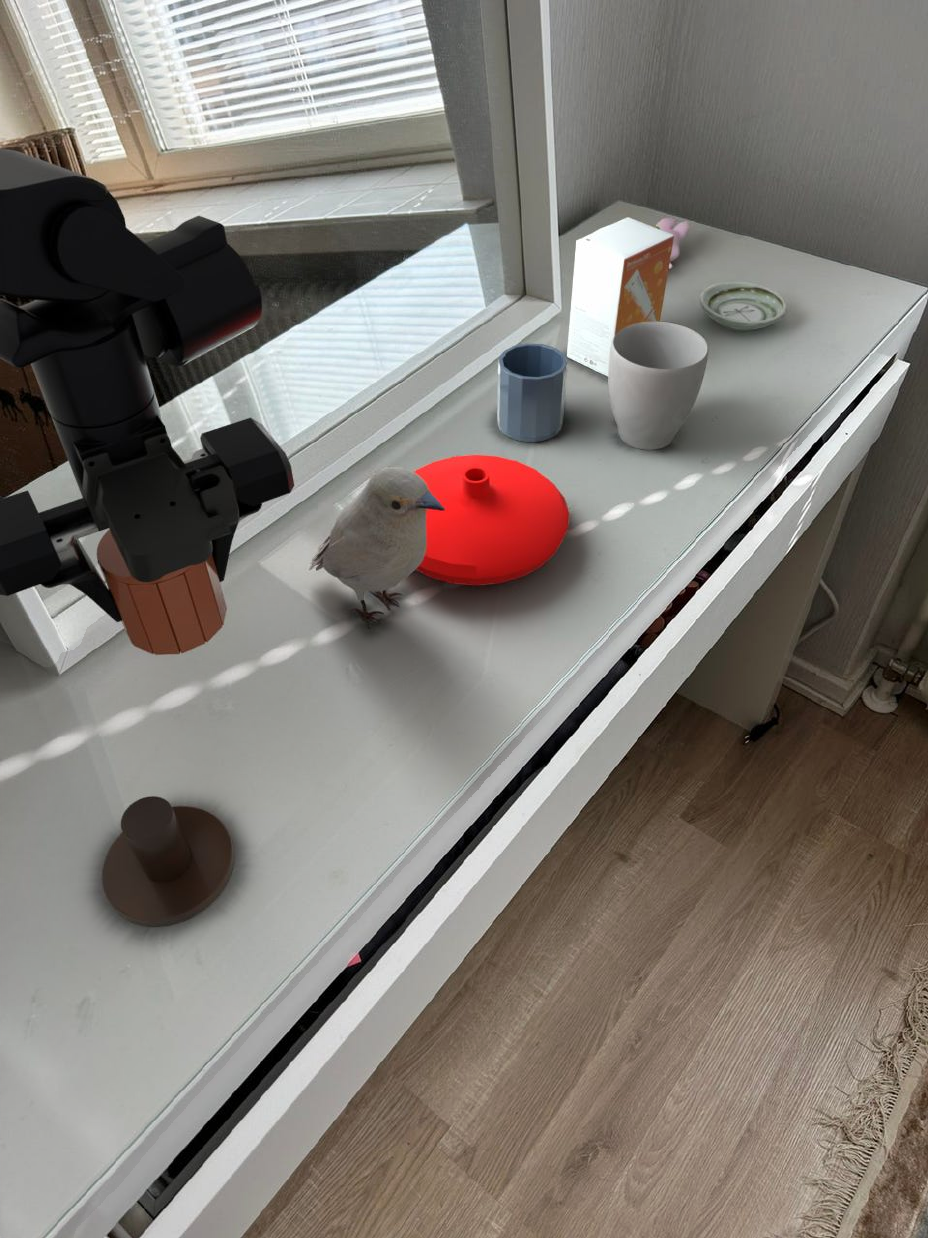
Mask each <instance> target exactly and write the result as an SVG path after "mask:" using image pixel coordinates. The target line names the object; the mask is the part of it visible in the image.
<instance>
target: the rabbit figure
mask: <svg viewBox="0 0 928 1238" xmlns="http://www.w3.org/2000/svg"><path fill="white" fill-rule="evenodd" d="M677 222H678V220H677V219H675V218H673V217H665V218H662V219H660V220H659V221H658V222H657V223H656V225H654V227H655V228H657V229H660V230H662V231H665V232H667V233H670V234H672V235H674V239H673V246H672V252H671V258H670V264H669V270H671V269H672V268H673V264H672V263H671V262H673V261H675V260H676V259H677V258H679V256H680V254H681V253H680V242H681V241H682V240H683V239H685V237H687V235H688V233H689V230H690V228H691V223H690V221H681V222H679V223H678V224H676V223H677Z"/></svg>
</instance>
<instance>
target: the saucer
mask: <svg viewBox="0 0 928 1238" xmlns="http://www.w3.org/2000/svg"><path fill="white" fill-rule="evenodd" d="M699 296H700V297H699V304H700V307H701V309H702V310H703V311H704V312H705V313H706V314H707V315H708V316H709V317H710V318H711V319H712V320H713V321H715V322H716V323H718V324H719V325H721V326H723V327H725V328H727V329H729V330H734V331H739V332H748V331H753V330H757V329H762V328H765V327H768V326H770V325H772V324H775V323H776V322H779V321H780V320H781V319H782V318H784V316H785V315H786V314H787V310H788V304H787V301H786V300H785V298H784V297H783V296H782V295H781V294H780V293H778V292H777V291H775V290H774V289H772V288H769V287H766V286H764V285H760V284H756V283H753V282H746V281H725V282H719V283H715V284H712V285H710V286H708V287H706V288H705V289H704V290H703V291H702V292H701V294H700V295H699Z"/></svg>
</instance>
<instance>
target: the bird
mask: <svg viewBox="0 0 928 1238" xmlns="http://www.w3.org/2000/svg"><path fill="white" fill-rule="evenodd" d="M427 509H433V510H440V511H442V510H443V511H444V510H445V509H444V507H443V506H442V505H441V504H440V502H439V501H438V500H437V499H436V498H435V497H434V496H433V494H432V493H431V492H430V490H429V489H428V486H427V484H426V482H425V481H424V480H423V479H422V478H421V477H420V476H418V475H417V474H416V473H415V472H414V471H413V470H411V469H408V468H405V467H395V466H388V467H384V468H381V469H377V470H376V471H375V472H374V473H373V474H372V475H371V477H370V478H369V480H368V482H367V483H366V485H365V486H364V487H363V488H362V490H361V491H360V492H359V493H358V495H357V496H356V497H354V499H352V500H351V501H350V502H349V503H348V504H346V505H345V506H344V508H343V509H342V510H341V511H340V512H339V514H338V515H337V517H336V519H335V522H334V523H333V526H332V527H331V529H330V533H329V536H327V538H325V540H324V542H323V543H322V544H320V546H318V547H317V552H316V553H315V555H314V556H313V557H312V559H310V561H311V562H310V563H309V564H310V566H309V568H308V570H309V571H311V570H312V569H313V568H314V567H315V571H316V572H317V571H320V570H321V569H324V570H325V571H326V572H327V573H328V574H329V575H331V576H333V577H334V578H337V579H338V580H339V581H340V582H341V583H342V584H343V585H344V586H347V587H349V588H350V589H352V590H353V591H354V593H355V595H356V598H357V600H358V601H359V602H360V604H361V606H362V610H361V609H359V608H357V607H356V608H355V607H353V608H350V610H352V611H355V612H356V613H357V614H359V617H360V619H361V620H363V621H364V622H365V624H366V626H367V628H368V630H371V624H370V620H371V621H375V622H376V623H378V624H379V625H380V624H381V623H380V621H379V620H378V619H377V618H376V617H375V616H374V615H378V614H381V615H384V614H385V613H384V612H382V611H378V610H372V611H367V605H366V601H365V599H364V597H365V593H366V592H371V593H375V594H377V595H378V596H379V599H380V600H381V601H382V602H384V604H385V605H386V607H387V609H388V610H389V611H390V610H391V609H390V607H391V606H390V602H389V601H391V602H394V603H396V604H397V605H399V606H400V603H399V601H398V600H397V599H396V598H394V597H395V596H403V594H402V593H400V592H395V591H394V592H389V593H388V592H387V590H390V589H392V588H394V587H396V586H398V584H400V583H401V582H402V581H404V580H405V579H406V578H408V577H409V576H410V575H411V574H412V573H413V572H414V571H416V570H415V569H416V568H417V567H418V566H419V565H420V564H421V562H422V561H423V558H424V556H425V553H426V547H427V534H426V512H427Z"/></svg>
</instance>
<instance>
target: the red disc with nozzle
mask: <svg viewBox="0 0 928 1238" xmlns="http://www.w3.org/2000/svg"><path fill="white" fill-rule="evenodd" d="M413 472H415V473H416V474H417V475H418V476H420V477H421V478H422V479H423V480H424V481H425V482H426V484H427V486H428V489H429V490H430V492H431V493H432V494H433V496H434V497H435V498H436V499H437V500H438V501H439V502H440V504H441V505H442V506H443V507H444V509H445V510H444V511H443V510H442V511H440V510H433V509H427V512H426V534H427V547H426V553H425V556H424V558H423V561H422V562H421V564H420V565H419V566H418V567H417V568H416V569H415V570H414V571H417V572H418V573H421V574H423V575H424V576H427V577H428V578H431V579H434V580H438V581H442V582H446V583H450V584H453V585H454V584H455V585H466V586H485V585H495V584H502V583H505V582H510V581H512V580H515V579H519V578H522V577H525V576H527V575H529V574H530V573H532V572H534V571H536V570H539V568H541V567H542V566H544V565H545V564H546V563H547V562H548V561H549V560H550V559H551V558H552V557H553V556H554V555H555V554H556V553H557V551H558V549H559V548H560V546H561V543H562V542H563V540H564V538H565V536H566V534H567V532H568V530H569V523H570V511H569V508H568V504H567V502H566V497H564V495H563V494H562V493H561V492H560V490H559V489H558V488H557V486H556V485H555V484H554V483H553V482H552V481H551V480H550V479H548V477H546V476H545V475H543V474H542V473H541V472H539V471H538V470H536V468H533V467H531V466H529V465H526V464H524V463H522V462H520V461H517V460H513V459H510V458H505V457H503V456H501V457H500V456H496V455H486V454H485V455H483V454H469V455H468V454H467V455H457V456H451V457H446V458H443V459H439V460H436V461H432V462H430V463H428V464H426V465H424V466H422V467H419V468H417V469H416V470H414V471H413Z"/></svg>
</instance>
